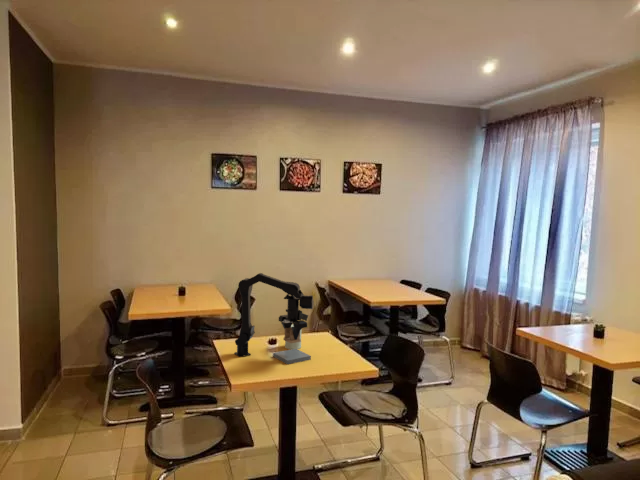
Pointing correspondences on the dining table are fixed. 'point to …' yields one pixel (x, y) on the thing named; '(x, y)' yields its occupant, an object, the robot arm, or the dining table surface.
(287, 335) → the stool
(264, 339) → the dining table surface
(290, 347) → the can
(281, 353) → the slab
